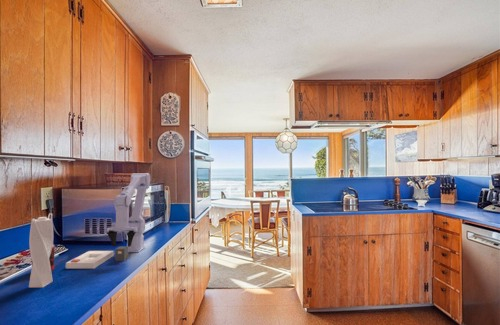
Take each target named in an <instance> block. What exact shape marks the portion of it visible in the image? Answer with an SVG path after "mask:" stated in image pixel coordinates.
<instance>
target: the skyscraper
mask: <svg viewBox="0 0 500 325" xmlns="http://www.w3.org/2000/svg"><path fill="white" fill-rule="evenodd" d="M28 239H29V242H28V245H29V254H30V257H31V271H30V277H29V283H28V288H45V287H46V286H47V285H49V284H51V283H53V274H52V271H51V266H50V261H49V257H50V254H51V250H52V246H53V244H54V225H53V213H52V212H50V213H48V216H40V217H37V219H35V218H34V217H33V218H32V219H31V223H30V230H29V238H28ZM32 262H33V264H32Z"/></svg>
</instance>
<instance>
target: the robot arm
mask: <svg viewBox="0 0 500 325" xmlns="http://www.w3.org/2000/svg"><path fill="white" fill-rule="evenodd" d="M151 178H152V177H151V174H150V173H149V172H146V173H145V172H144V173H143V172H141V173H140V172H138V173H135V172H132V173H131V175H130V182H129V184H128V185H126V186H125V187H124V188H123V189H122V190H121V192H120V193H119V194H117V195H116V196H115V197H114V199H113V205H114V210H115V226H109V227H107V228H106V232H107V236H108V238H109V239H110V241H111V245H112V247H116V246H117V235H118V232H119V233H120V232H124V233H125V235H126V236H127V246H128V253H140V252H141V251H142V250H144V249H145V248H146V246H144V238H145V236H144V233H145V231H146V230H145V229H146V220H145V219H144V218H143V217H142V214H143V208H144V203H145V198H146V193H147V190H148V189H149V188H150V186H151V181H152V179H151ZM135 193H136V194H135ZM134 194H135V200H134V204H133V209H132V214H131V216H130V217H129V212H130V211H129V210H130V209H129V206H130V205H131V202H132V199H133V196H134Z"/></svg>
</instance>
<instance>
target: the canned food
mask: <svg viewBox="0 0 500 325" xmlns="http://www.w3.org/2000/svg"><path fill="white" fill-rule="evenodd" d="M49 261H50V266H51V272H53V270H54V269H55V244H54V243H53V246H52V250H51V254H50V257H49ZM32 264H33V262H32V261H31V265H32Z"/></svg>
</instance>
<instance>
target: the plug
mask: <svg viewBox="0 0 500 325" xmlns="http://www.w3.org/2000/svg"><path fill="white" fill-rule="evenodd" d="M128 259H129V252H128V246H123V245H122V246H121V245H120V246H118V247H115V250H114V261H115V262H125V261H126V260H128Z"/></svg>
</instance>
